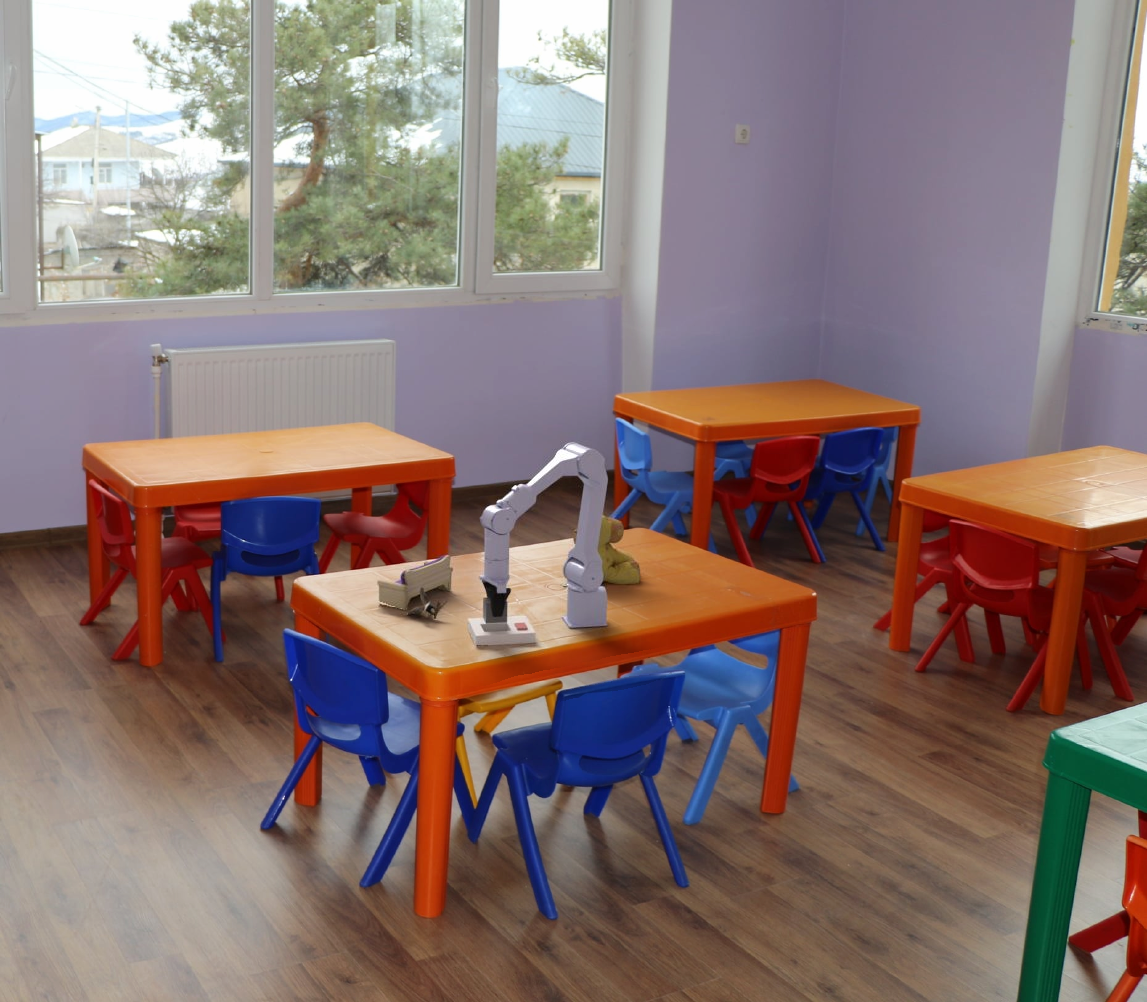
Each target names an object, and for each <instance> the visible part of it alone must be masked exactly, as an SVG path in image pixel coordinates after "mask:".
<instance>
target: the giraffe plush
mask: <svg viewBox="0 0 1147 1002" xmlns="http://www.w3.org/2000/svg"><path fill="white" fill-rule="evenodd" d="M577 529H578V526H577V527H576V529H574V531H573V535H574V537H573V538H572V540H573V544H574V545H575V543H576V536H577ZM624 533H625V528H624V525H623V523H622V521H621V520H619V519H617V518H613V517H610V516H605V515H604V514H603V516H602V522H601V529H600V536H599V542H598V549H597V551H598V553H599V555H600V557H601V559H602V571H603V581H602V582H608V583H610V584H612V585H613V584H615V585H630V584H631V585H634V584H635V585H636V584H639V582H640V580H641V567H640V564H639V562H638V561H636V560H635V559H634V557H633V556H632V555H631V554H630V553H628V552H624V551H621V550H618V549H616V548H615V547H613V545H612V544H617V543H619V542H620V541H621V540H622V539H623V537H624ZM561 584H562V585H561V586H562V587H568V584H567V583H561ZM600 586H602V584H601V585H600Z"/></svg>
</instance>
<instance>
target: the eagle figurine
mask: <svg viewBox="0 0 1147 1002" xmlns="http://www.w3.org/2000/svg"><path fill="white" fill-rule="evenodd" d="M419 595H420V601H421V603H423V605H422V606H421V605H420V606H416V607H413V608H412V609H411V610H410V611H408V612H407V613H408V615H411V614H412V615H417V614H418V615H419V614H421V613H422V612H423V613H425V612H426V613H428V614H430V615H431V616H433V620H434V619H436V620H437V617H438V613H439V612H440V611H441V609H442V608H443V607H444V606H445V605H446V604H447V602H448V599H446V600H445V601H444V602H440V600H438V601H437V604H436V605H432V604H431V601H430V599H429V596H428V594H426V592H424V588H421V590H420V594H419ZM423 613H422V614H423Z"/></svg>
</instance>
